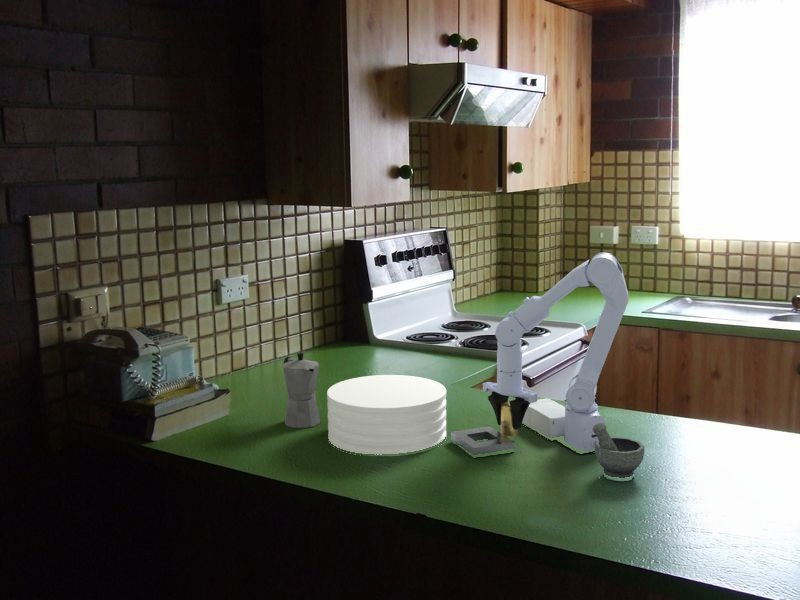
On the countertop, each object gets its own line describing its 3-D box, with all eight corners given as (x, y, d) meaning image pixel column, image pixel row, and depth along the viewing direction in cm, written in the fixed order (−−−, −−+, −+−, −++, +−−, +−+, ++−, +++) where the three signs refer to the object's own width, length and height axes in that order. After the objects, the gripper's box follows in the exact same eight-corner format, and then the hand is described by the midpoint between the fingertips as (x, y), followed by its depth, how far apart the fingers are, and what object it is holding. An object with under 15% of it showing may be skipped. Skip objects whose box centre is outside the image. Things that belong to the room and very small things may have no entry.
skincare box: (519, 423, 214) (548, 443, 200) (519, 399, 213) (548, 418, 199) (549, 419, 216) (580, 439, 203) (550, 396, 215) (581, 414, 201)
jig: (514, 452, 194) (514, 441, 193) (474, 458, 190) (474, 448, 189) (489, 436, 205) (489, 426, 204) (450, 442, 201) (450, 431, 200)
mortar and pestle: (625, 465, 185) (627, 411, 183) (652, 481, 176) (654, 424, 174) (579, 472, 181) (581, 417, 179) (605, 489, 172) (606, 431, 170)
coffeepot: (332, 426, 213) (330, 355, 210) (297, 433, 208) (295, 360, 205) (303, 410, 226) (301, 343, 223) (270, 417, 221) (267, 348, 218)
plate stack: (457, 423, 215) (457, 378, 213) (431, 462, 189) (430, 412, 187) (350, 415, 223) (349, 371, 221) (310, 452, 196) (309, 403, 194)
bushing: (521, 434, 201) (521, 405, 199) (505, 437, 199) (505, 408, 198) (512, 429, 204) (512, 401, 203) (497, 432, 203) (497, 403, 202)
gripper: (545, 371, 197) (545, 429, 199) (496, 361, 207) (496, 416, 209) (526, 377, 192) (526, 436, 194) (476, 366, 202) (477, 422, 204)
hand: (509, 426), depth 201 cm, fingers closed on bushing, 4 cm apart
